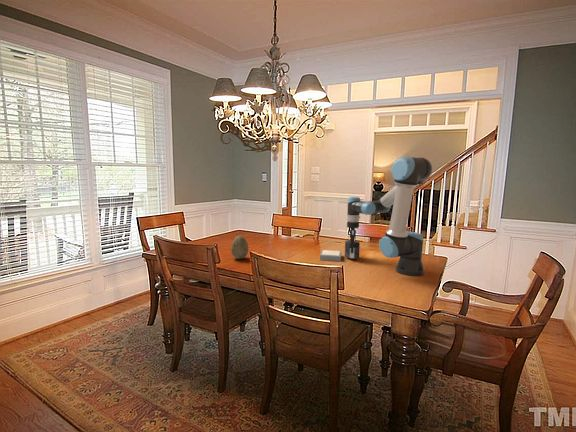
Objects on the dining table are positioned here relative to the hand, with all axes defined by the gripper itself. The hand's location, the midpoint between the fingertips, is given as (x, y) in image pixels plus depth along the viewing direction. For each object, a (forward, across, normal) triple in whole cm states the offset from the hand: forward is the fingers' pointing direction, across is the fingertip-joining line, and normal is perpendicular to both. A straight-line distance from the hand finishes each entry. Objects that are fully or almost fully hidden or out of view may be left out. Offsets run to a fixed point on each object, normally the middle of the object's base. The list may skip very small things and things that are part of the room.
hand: (351, 255), depth 214 cm
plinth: (+2, -1, +13) cm, 14 cm away
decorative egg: (+2, -18, +69) cm, 72 cm away
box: (+1, 0, 0) cm, 1 cm away
